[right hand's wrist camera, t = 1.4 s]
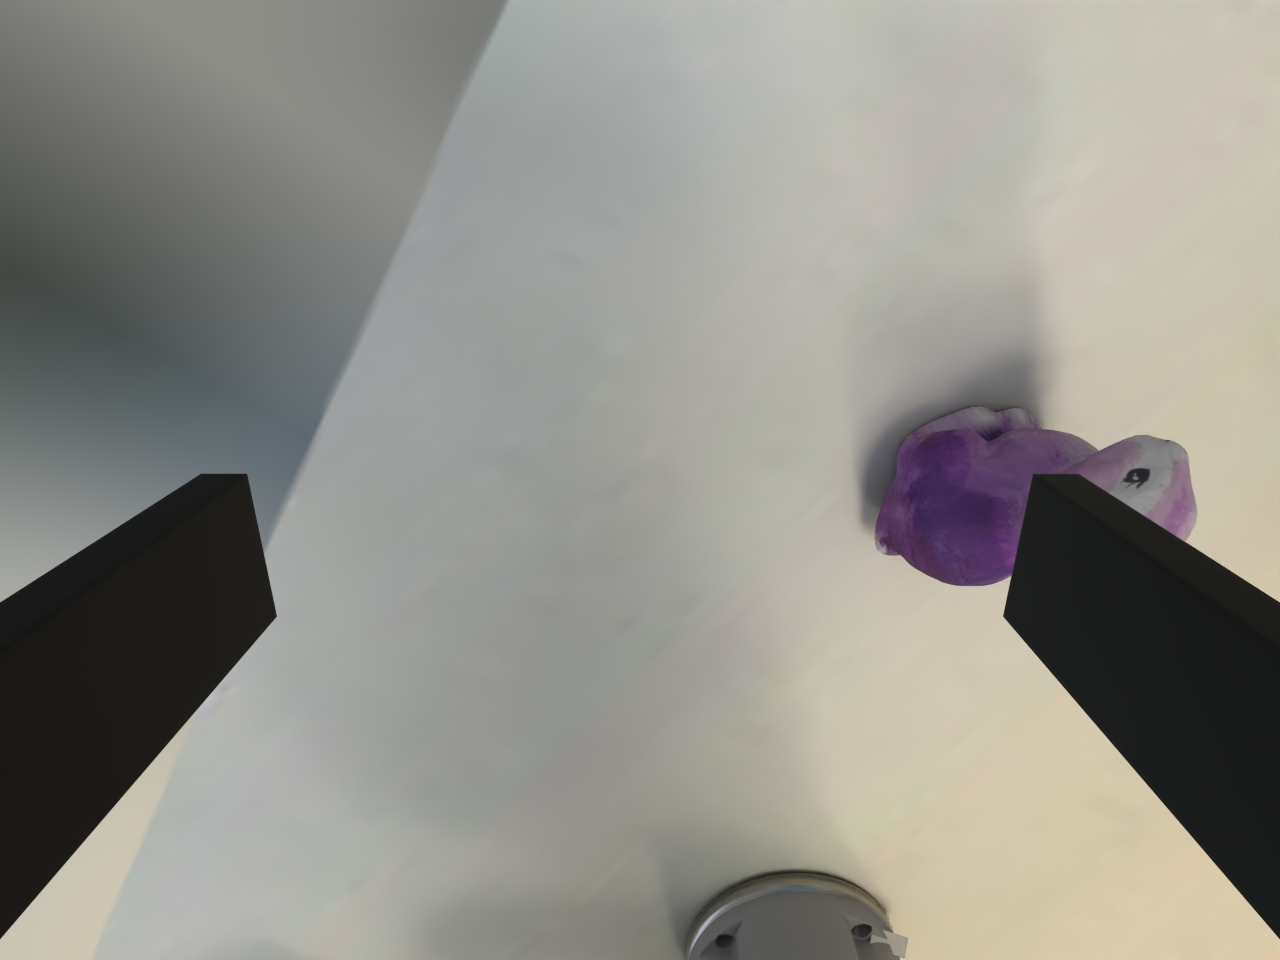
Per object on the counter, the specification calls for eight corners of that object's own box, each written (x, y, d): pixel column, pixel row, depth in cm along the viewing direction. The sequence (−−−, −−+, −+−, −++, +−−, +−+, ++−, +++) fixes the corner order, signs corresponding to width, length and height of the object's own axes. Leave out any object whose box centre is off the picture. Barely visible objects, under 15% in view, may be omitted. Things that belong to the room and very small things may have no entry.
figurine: (1078, 386, 39) (1325, 496, 25) (1018, 558, 42) (1204, 738, 28) (903, 365, 38) (1054, 465, 24) (858, 540, 42) (967, 715, 28)
